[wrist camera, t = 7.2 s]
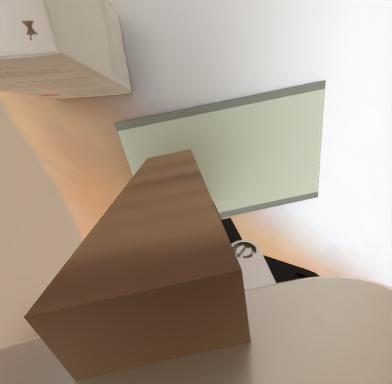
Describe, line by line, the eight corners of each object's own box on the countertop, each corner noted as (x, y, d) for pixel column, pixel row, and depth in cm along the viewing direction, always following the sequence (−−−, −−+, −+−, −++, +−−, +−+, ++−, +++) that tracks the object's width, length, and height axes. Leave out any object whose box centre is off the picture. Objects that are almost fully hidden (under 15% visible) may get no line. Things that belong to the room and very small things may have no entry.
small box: (119, 16, 17) (-15, -220, 5) (133, 94, 20) (63, 57, 8) (27, 21, 17) (-360, -227, 5) (53, 100, 19) (-160, 70, 7)
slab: (147, 158, 13) (23, 316, 3) (190, 149, 13) (241, 269, 3) (176, 260, 16) (175, 507, 6) (211, 253, 16) (268, 485, 6)
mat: (116, 123, 20) (114, 123, 20) (321, 81, 21) (325, 80, 20) (151, 230, 26) (151, 232, 25) (314, 195, 26) (317, 197, 25)
